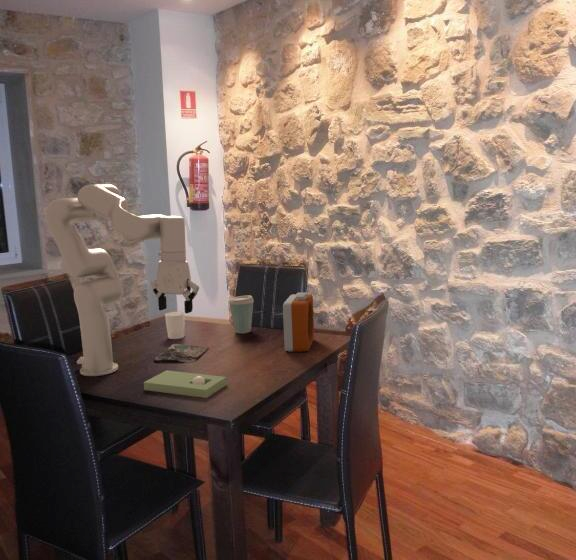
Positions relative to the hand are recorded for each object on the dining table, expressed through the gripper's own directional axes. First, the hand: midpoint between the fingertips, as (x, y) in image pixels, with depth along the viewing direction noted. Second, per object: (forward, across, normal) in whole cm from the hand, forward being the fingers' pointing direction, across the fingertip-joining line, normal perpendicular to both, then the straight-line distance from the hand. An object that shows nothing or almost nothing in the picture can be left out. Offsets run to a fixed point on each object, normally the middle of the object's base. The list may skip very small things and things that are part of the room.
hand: (175, 310), depth 183 cm
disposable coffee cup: (+24, -11, +63) cm, 69 cm away
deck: (+23, +5, -3) cm, 24 cm away
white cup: (+25, -34, +47) cm, 64 cm away
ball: (+21, +10, -3) cm, 23 cm away
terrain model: (+25, -16, +27) cm, 40 cm away
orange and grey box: (+23, +21, +50) cm, 59 cm away
